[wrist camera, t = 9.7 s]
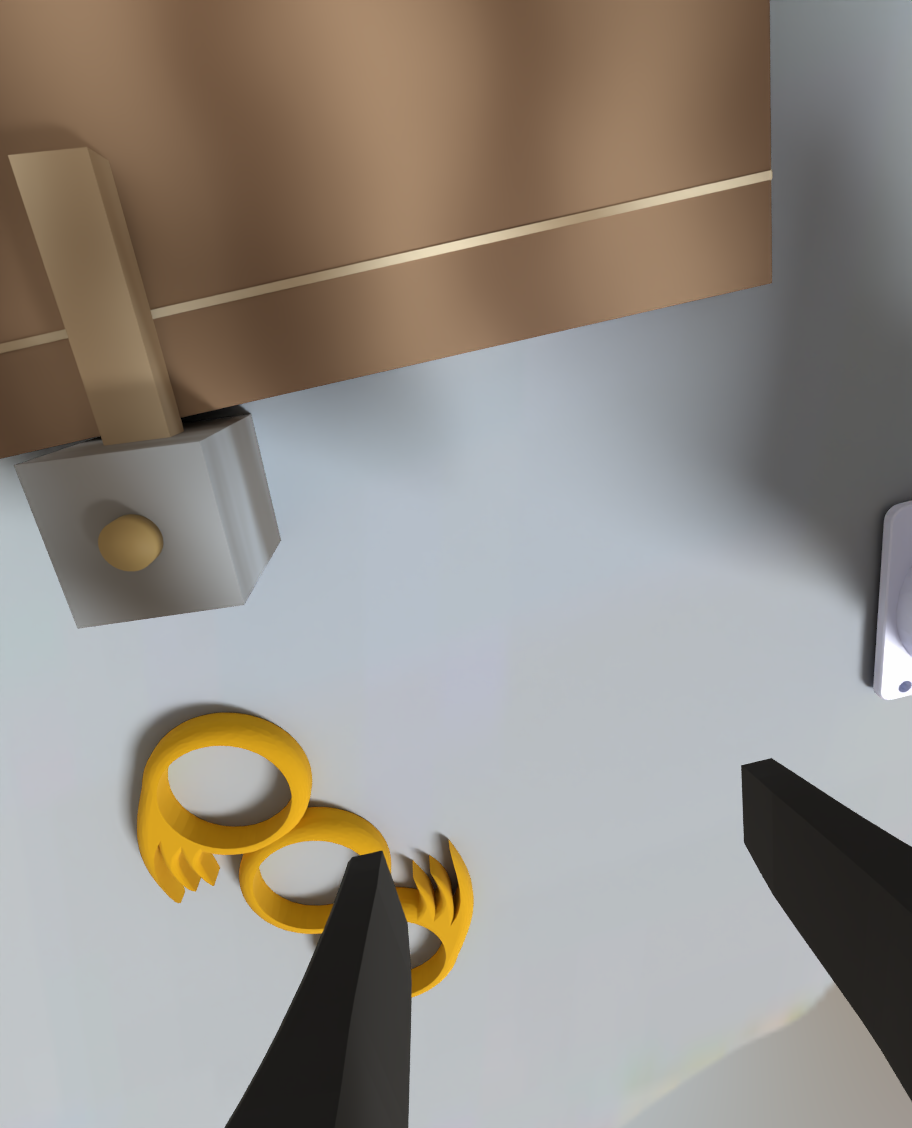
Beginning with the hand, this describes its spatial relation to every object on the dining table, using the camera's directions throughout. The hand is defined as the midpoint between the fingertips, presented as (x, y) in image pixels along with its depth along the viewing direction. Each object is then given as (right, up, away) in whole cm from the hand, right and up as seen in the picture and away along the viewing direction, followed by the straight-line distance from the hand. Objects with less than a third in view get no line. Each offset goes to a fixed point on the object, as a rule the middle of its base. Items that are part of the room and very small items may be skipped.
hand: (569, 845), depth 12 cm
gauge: (-10, +11, +6) cm, 16 cm away
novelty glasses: (-8, -6, +13) cm, 16 cm away
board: (-7, +16, +4) cm, 17 cm away
